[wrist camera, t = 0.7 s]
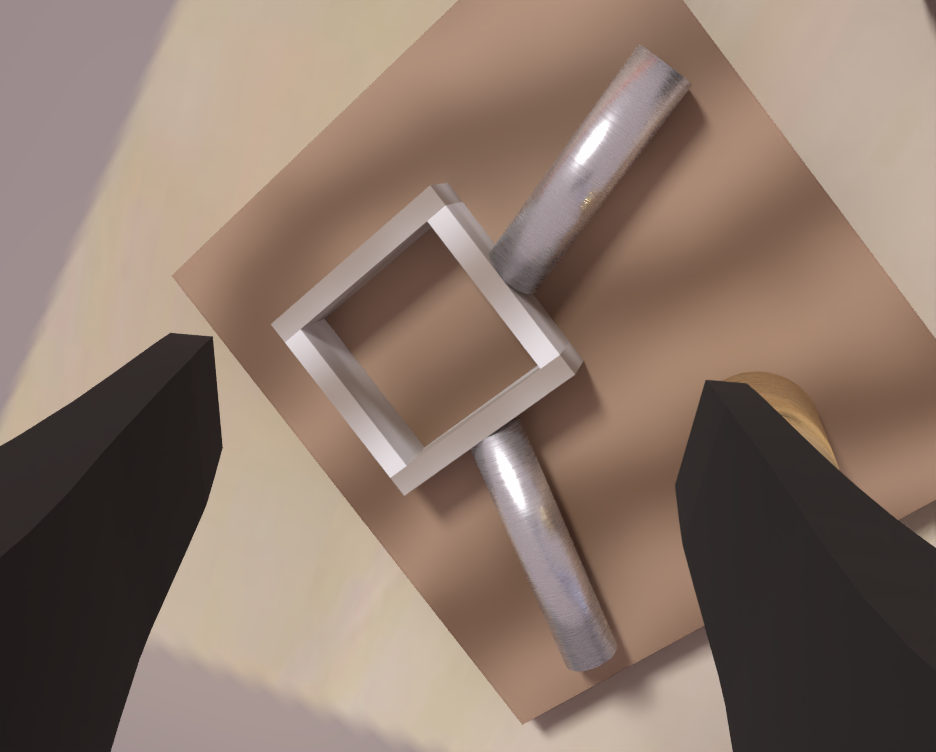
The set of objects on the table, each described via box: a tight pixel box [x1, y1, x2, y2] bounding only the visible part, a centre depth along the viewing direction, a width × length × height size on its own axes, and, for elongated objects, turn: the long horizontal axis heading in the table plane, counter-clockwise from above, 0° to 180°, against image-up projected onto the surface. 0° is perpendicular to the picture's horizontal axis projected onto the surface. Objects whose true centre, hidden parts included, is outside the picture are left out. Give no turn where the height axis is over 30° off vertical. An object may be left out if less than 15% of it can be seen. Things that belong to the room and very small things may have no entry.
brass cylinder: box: [723, 371, 840, 471], centre depth 26 cm, size 4×4×6 cm
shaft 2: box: [470, 417, 617, 671], centre depth 31 cm, size 9×2×2 cm, turn 24°
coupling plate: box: [172, 0, 936, 725], centre depth 30 cm, size 22×20×4 cm
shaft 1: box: [489, 44, 692, 295], centre depth 28 cm, size 8×2×2 cm, turn 144°
